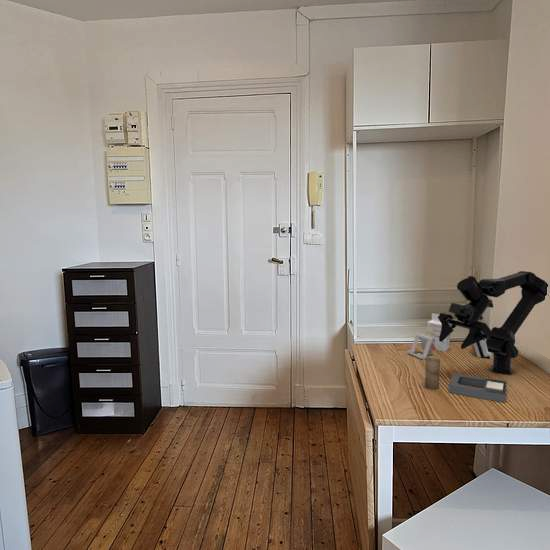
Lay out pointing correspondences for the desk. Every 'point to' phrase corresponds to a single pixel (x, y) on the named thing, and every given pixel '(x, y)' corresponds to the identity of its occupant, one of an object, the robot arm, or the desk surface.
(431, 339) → the portable electronic device stand
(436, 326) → the ink cartridge box
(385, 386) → the desk surface
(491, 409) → the desk surface
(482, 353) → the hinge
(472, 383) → the hole plate
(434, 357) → the walnut peg
